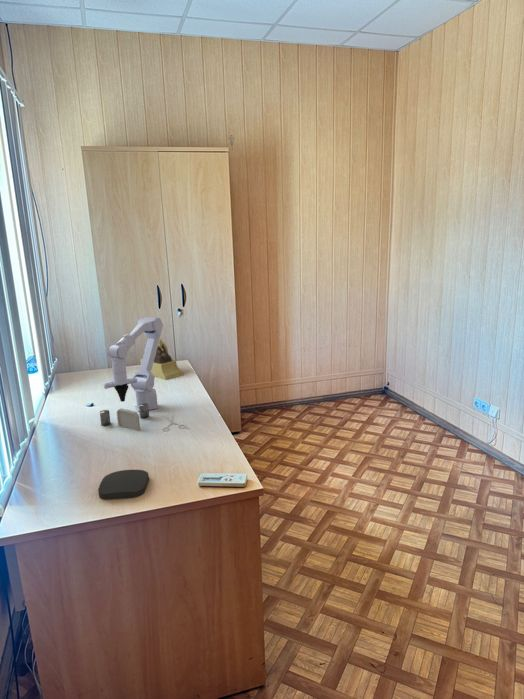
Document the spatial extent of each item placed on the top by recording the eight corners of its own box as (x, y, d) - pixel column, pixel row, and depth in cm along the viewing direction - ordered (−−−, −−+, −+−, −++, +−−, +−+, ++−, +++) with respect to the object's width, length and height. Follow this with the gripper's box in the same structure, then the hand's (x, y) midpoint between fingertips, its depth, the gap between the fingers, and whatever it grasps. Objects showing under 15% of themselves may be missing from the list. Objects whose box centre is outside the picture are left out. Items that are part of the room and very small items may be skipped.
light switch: (137, 431, 199) (135, 413, 197) (118, 425, 205) (116, 408, 203) (140, 429, 200) (138, 412, 198) (121, 424, 206) (119, 407, 205)
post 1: (110, 422, 210) (108, 409, 208) (111, 425, 206) (109, 412, 205) (100, 423, 208) (99, 410, 207) (101, 426, 205) (100, 413, 203)
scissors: (163, 432, 195) (157, 416, 214) (163, 434, 196) (157, 417, 214) (188, 428, 199) (180, 412, 217) (188, 430, 199) (180, 414, 217)
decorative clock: (183, 375, 280) (179, 325, 273) (165, 380, 271) (161, 329, 264) (156, 367, 299) (152, 320, 292) (138, 372, 290) (134, 324, 283)
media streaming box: (143, 498, 147) (142, 489, 146) (96, 501, 146) (94, 493, 145) (150, 475, 161) (150, 467, 160) (107, 478, 160) (106, 470, 159)
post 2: (148, 415, 217) (147, 402, 215) (150, 417, 213) (148, 405, 212) (139, 416, 215) (138, 404, 214) (141, 419, 211) (139, 406, 210)
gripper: (132, 367, 215) (135, 395, 218) (100, 372, 207) (103, 401, 210) (137, 370, 210) (140, 399, 213) (105, 376, 202) (108, 406, 205)
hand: (122, 400), depth 211 cm, fingers closed
